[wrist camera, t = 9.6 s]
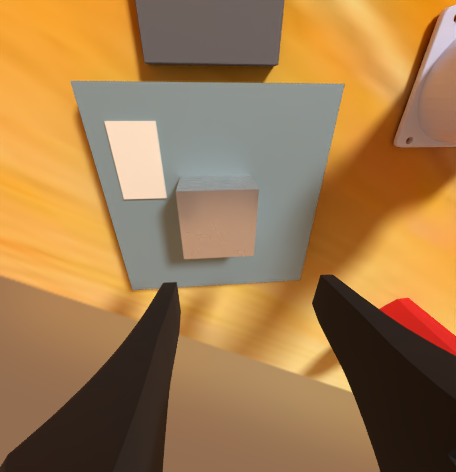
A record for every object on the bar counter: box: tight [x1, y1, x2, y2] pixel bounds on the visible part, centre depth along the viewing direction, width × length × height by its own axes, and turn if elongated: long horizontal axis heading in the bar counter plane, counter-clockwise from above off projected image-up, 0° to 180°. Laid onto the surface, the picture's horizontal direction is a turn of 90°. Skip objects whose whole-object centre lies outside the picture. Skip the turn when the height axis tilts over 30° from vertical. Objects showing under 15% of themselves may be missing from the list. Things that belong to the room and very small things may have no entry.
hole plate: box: [71, 81, 344, 290], centre depth 18 cm, size 16×16×2 cm
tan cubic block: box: [176, 175, 259, 259], centre depth 17 cm, size 5×5×5 cm
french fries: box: [379, 298, 456, 356], centre depth 24 cm, size 8×4×12 cm, turn 134°
